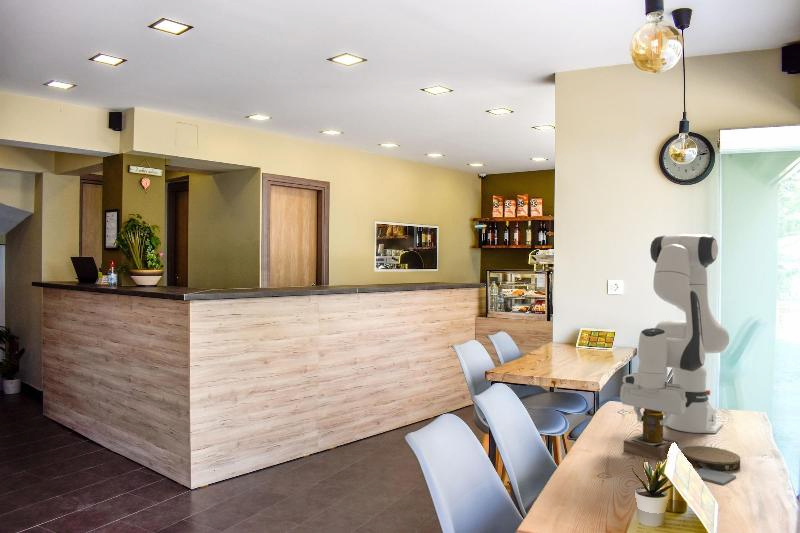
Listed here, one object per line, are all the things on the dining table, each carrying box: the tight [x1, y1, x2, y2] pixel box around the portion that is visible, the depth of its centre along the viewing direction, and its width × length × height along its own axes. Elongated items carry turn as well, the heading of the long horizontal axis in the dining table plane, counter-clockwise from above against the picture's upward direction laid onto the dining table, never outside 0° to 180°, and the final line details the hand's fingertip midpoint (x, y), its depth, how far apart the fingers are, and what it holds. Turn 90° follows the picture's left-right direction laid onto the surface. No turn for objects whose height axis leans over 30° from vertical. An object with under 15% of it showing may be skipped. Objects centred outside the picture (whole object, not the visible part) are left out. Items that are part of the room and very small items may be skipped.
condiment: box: [633, 408, 668, 445], centre depth 200 cm, size 7×8×12 cm
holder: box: [623, 433, 679, 461], centre depth 200 cm, size 13×12×4 cm
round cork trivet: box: [681, 445, 741, 473], centre depth 190 cm, size 16×16×3 cm
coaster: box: [696, 467, 737, 486], centre depth 177 cm, size 9×9×1 cm
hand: (651, 423), depth 200 cm, fingers closed on condiment, 6 cm apart
